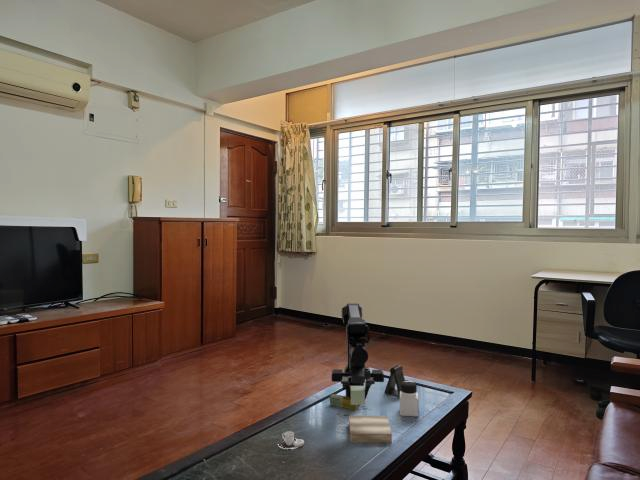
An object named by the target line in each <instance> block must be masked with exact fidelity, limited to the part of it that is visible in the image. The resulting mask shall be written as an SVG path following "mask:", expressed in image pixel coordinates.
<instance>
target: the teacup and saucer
mask: <svg viewBox="0 0 640 480" xmlns="http://www.w3.org/2000/svg"><path fill="white" fill-rule="evenodd" d="M281 437H282V439H284V441H283V442H285V445H286V446H292V445H293V447H285V448H283V447H284V446H282V445H281V446H282V447H281V446H279V444H278V443H277V446H278V447H279V448H280V449H282V450H286V449H287V451H288V449H291V450H296V449H297V448H300V447H302V446H303V445H304V444H305V440H304V439H300V438H299V439H298V438H296V437H295V433H294V431H291V430H288V431H285V432H283V433H282V434H281ZM294 438H295V439H296V441H295V440H294Z"/></svg>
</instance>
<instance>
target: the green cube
mask: <svg viewBox="0 0 640 480" xmlns="http://www.w3.org/2000/svg"><path fill="white" fill-rule="evenodd" d="M351 405H358V406H360V405H361V406H366V400H365V385H364V386H351Z"/></svg>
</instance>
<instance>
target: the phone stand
mask: <svg viewBox="0 0 640 480" xmlns="http://www.w3.org/2000/svg"><path fill="white" fill-rule="evenodd" d="M403 371H404V370H403V365H401V364H397V365H395V366H393V367H391V368H390V369H389V377H388V381H387V383H386V386H385V390H384V394H387V395H390V396H393V397H394V396H395V397H398V398H400V391H401V383H402V382H404V381H406V379H405V376H404V373H403Z"/></svg>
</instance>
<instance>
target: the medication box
mask: <svg viewBox="0 0 640 480" xmlns="http://www.w3.org/2000/svg"><path fill="white" fill-rule="evenodd" d="M329 402H330V403H329V404H332V406H334V405H335V407H340V408H343V409H345V408H346V409H350V410H354V411H357V410H358V408H359V405H351V399H350V398H349V397H346V395H341V394H336V393H331V394H330V395H329Z"/></svg>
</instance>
